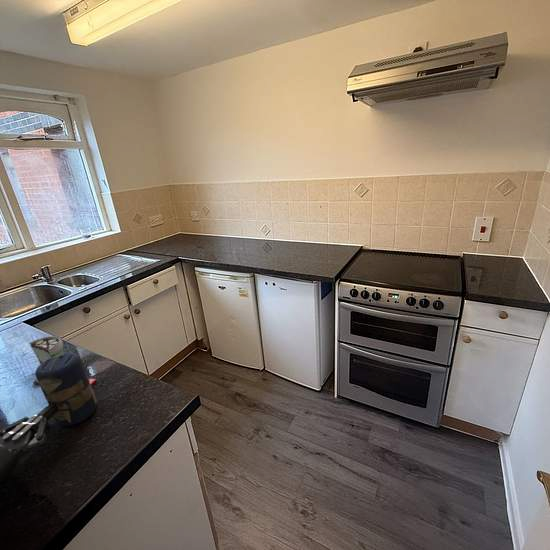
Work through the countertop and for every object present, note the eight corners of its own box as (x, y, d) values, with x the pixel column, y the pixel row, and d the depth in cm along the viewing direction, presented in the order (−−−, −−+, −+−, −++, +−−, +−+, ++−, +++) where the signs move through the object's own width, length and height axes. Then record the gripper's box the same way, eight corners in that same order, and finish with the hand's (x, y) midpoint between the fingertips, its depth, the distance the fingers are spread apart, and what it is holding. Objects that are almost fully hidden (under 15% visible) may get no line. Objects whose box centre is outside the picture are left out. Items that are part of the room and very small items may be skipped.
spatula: (29, 388, 92) (27, 385, 91) (43, 377, 96) (42, 374, 96) (84, 392, 88) (83, 389, 87) (96, 380, 92) (95, 377, 92)
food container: (79, 364, 101) (69, 339, 98) (60, 376, 96) (48, 350, 93) (59, 356, 107) (48, 332, 103) (40, 367, 102) (28, 342, 98)
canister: (49, 429, 76) (20, 372, 70) (75, 400, 85) (52, 347, 78) (83, 429, 75) (57, 371, 69) (106, 400, 84) (85, 346, 77)
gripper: (-39, 485, 60) (38, 415, 76) (13, 494, 57) (82, 420, 73) (-58, 459, 57) (26, 392, 73) (-4, 467, 55) (72, 396, 70)
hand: (54, 406), depth 73 cm, fingers closed
